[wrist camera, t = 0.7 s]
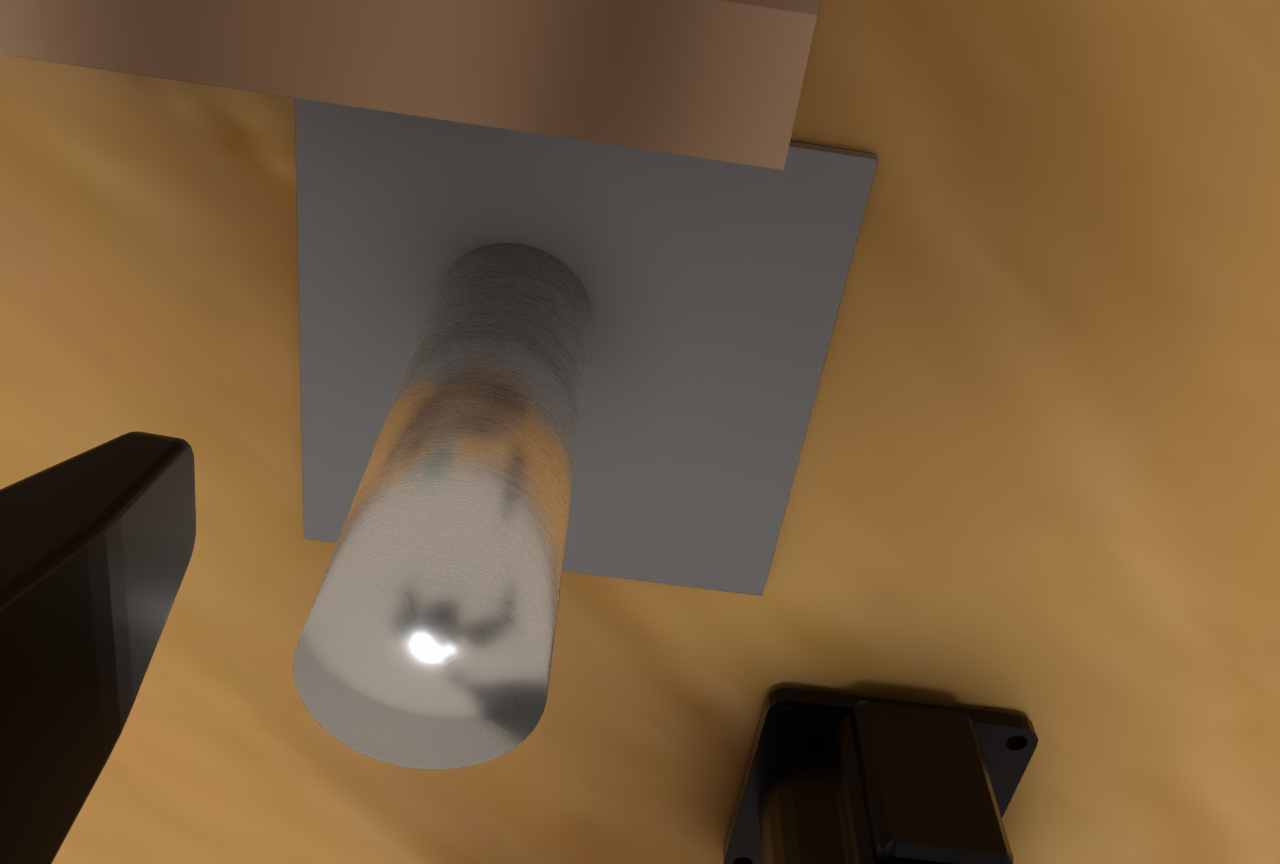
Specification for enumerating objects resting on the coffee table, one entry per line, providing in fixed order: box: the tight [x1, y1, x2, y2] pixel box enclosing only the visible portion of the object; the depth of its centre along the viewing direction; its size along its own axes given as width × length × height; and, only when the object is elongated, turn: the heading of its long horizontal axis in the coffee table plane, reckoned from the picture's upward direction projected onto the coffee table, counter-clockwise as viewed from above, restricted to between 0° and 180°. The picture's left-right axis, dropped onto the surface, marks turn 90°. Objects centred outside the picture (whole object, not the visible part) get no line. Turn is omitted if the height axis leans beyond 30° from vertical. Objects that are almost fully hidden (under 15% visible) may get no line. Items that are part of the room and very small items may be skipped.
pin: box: [293, 243, 592, 770], centre depth 18 cm, size 3×3×10 cm
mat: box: [295, 98, 878, 596], centre depth 22 cm, size 10×10×1 cm
